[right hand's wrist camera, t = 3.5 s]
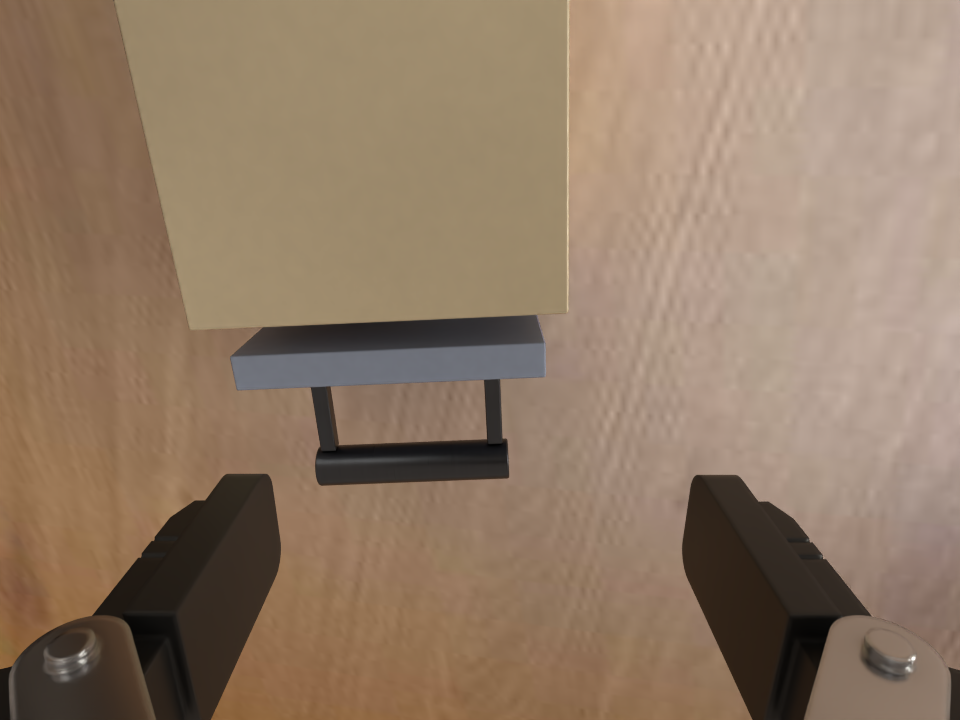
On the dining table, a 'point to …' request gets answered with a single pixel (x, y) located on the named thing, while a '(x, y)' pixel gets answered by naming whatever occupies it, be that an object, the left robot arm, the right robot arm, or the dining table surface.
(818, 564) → the right robot arm
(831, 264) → the dining table surface
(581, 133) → the dining table surface
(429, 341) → the drawer
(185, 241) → the cabinet
